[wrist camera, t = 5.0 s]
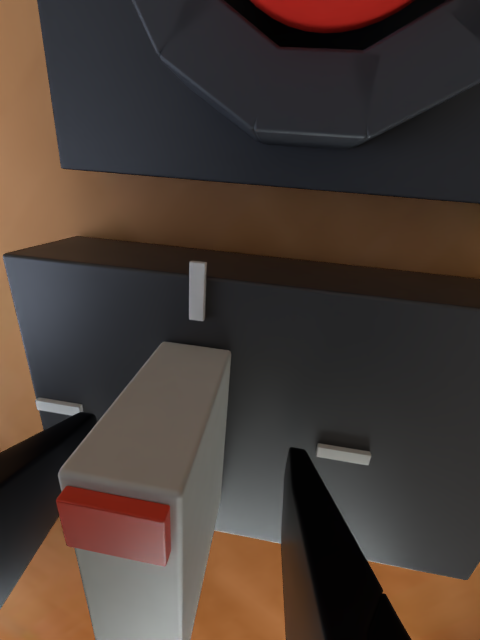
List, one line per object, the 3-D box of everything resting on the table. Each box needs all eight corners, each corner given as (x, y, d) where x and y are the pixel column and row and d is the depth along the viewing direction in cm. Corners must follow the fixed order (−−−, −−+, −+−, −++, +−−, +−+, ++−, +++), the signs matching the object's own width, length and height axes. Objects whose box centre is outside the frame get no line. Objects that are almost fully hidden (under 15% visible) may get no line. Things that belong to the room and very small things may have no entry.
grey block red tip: (220, 499, 10) (178, 698, 6) (166, 489, 10) (91, 676, 6) (231, 349, 8) (175, 514, 4) (162, 339, 8) (41, 487, 4)
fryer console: (104, 445, 14) (57, 511, 11) (74, 224, 10) (-10, 239, 7) (426, 501, 13) (466, 593, 10) (536, 271, 9) (655, 313, 6)
